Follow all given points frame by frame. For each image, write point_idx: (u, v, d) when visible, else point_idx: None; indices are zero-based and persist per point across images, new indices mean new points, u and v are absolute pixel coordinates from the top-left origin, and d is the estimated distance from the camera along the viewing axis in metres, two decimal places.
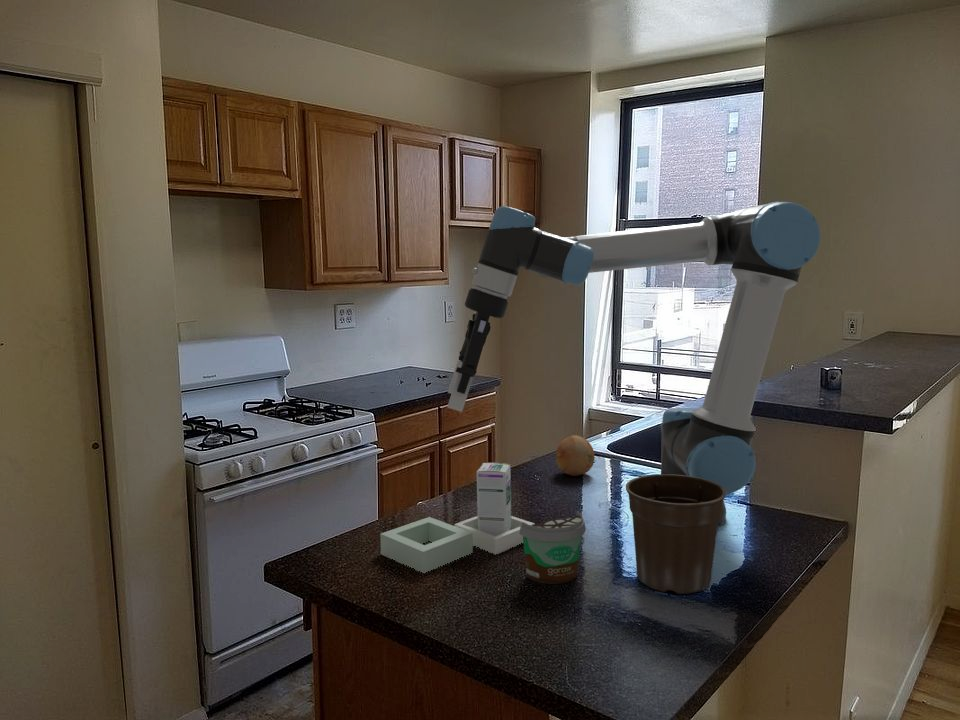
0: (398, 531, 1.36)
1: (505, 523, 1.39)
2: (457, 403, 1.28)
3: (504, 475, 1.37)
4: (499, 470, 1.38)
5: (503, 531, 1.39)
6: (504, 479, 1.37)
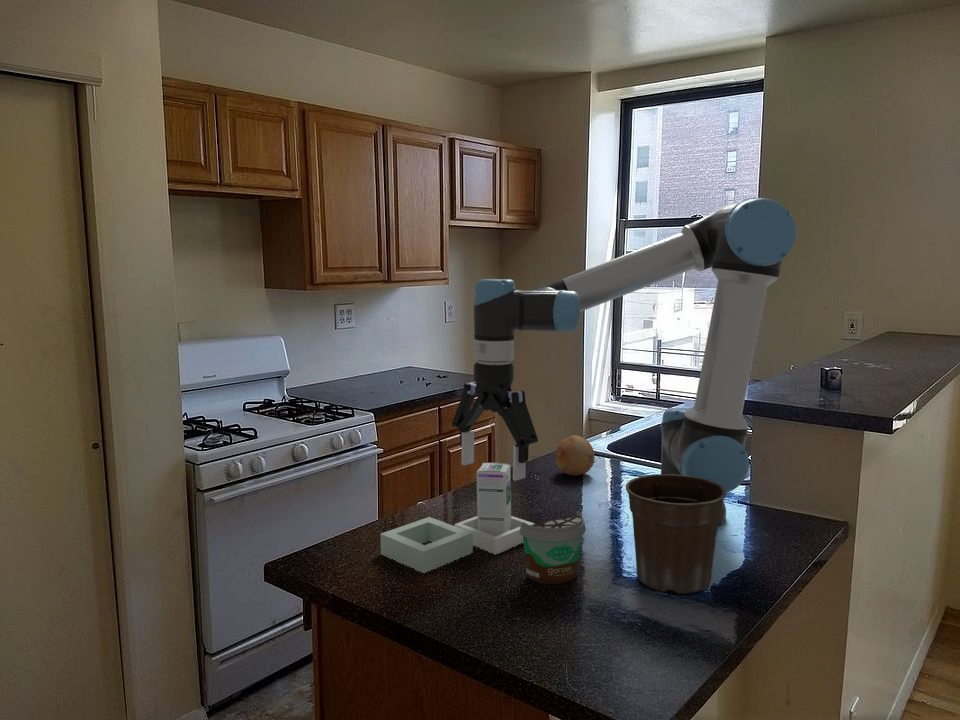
0: (398, 531, 1.36)
1: (505, 523, 1.39)
2: (521, 472, 1.35)
3: (504, 475, 1.37)
4: (498, 470, 1.38)
5: (503, 531, 1.39)
6: (504, 479, 1.37)
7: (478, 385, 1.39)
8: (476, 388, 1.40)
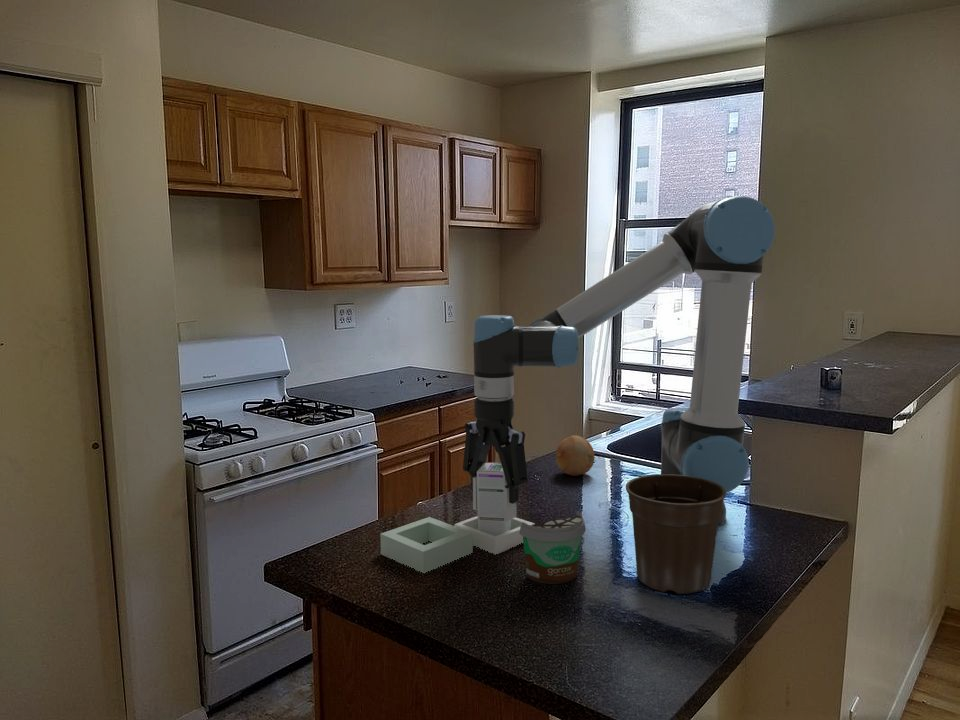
0: (398, 531, 1.36)
1: (505, 523, 1.39)
2: (512, 512, 1.38)
3: (504, 475, 1.37)
4: (499, 470, 1.38)
5: (503, 531, 1.39)
6: (504, 479, 1.37)
7: (478, 420, 1.41)
8: (476, 424, 1.41)
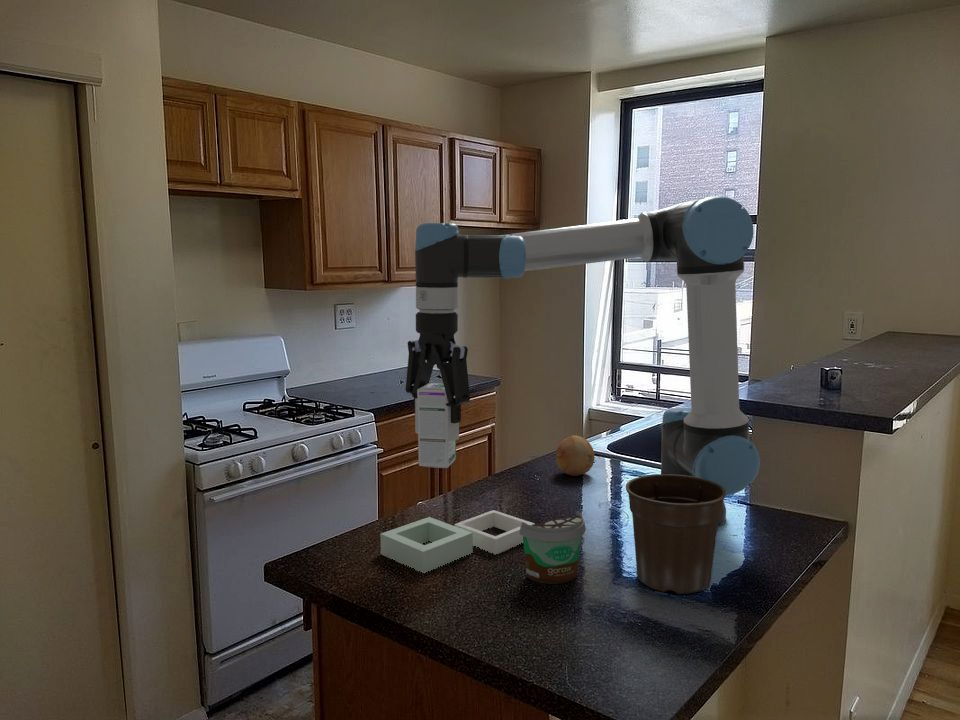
0: (398, 531, 1.36)
1: (447, 445, 1.31)
2: (454, 433, 1.30)
3: None
4: (440, 388, 1.30)
5: (444, 453, 1.31)
6: (446, 397, 1.29)
7: (420, 336, 1.33)
8: (419, 340, 1.33)
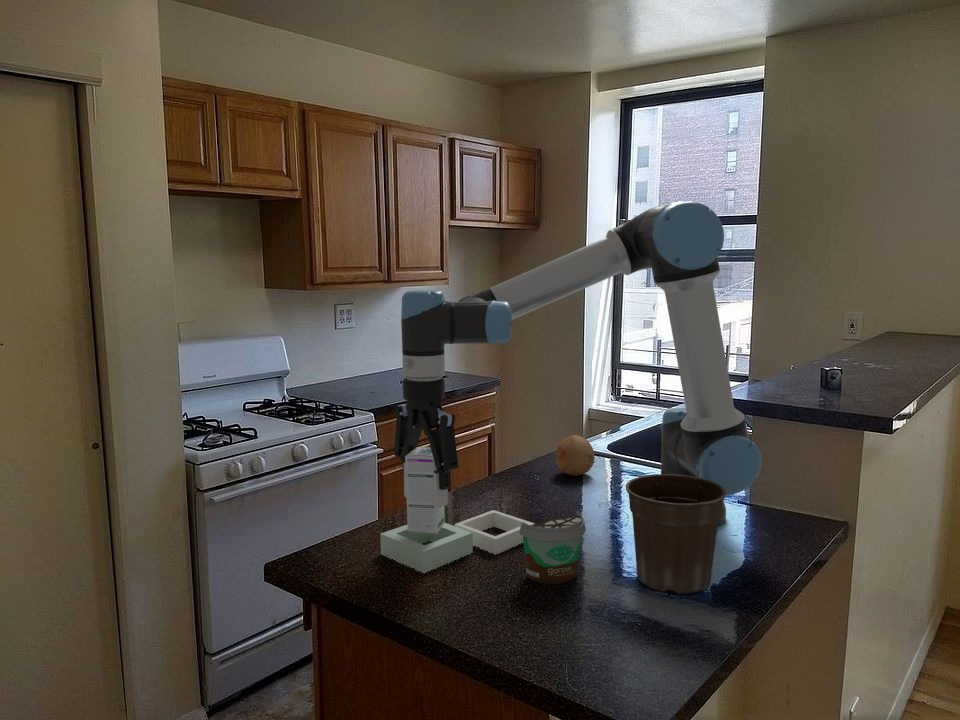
0: (398, 531, 1.36)
1: (435, 511, 1.31)
2: (442, 499, 1.31)
3: None
4: (428, 455, 1.30)
5: (433, 519, 1.31)
6: (434, 464, 1.30)
7: (407, 402, 1.33)
8: (406, 406, 1.33)
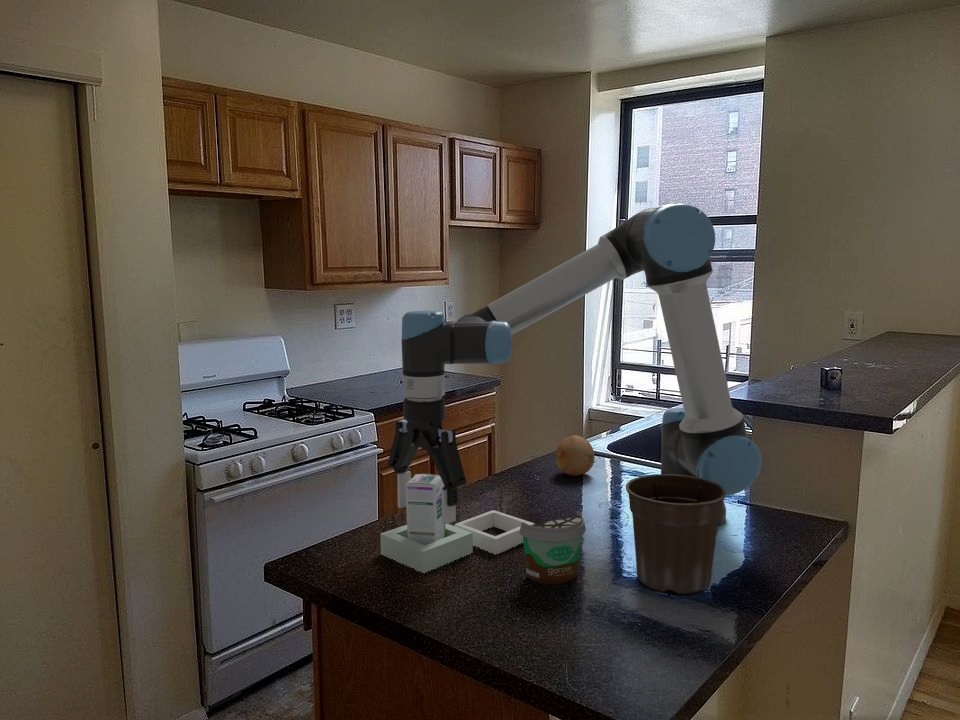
0: (398, 531, 1.36)
1: (436, 538, 1.32)
2: (450, 515, 1.30)
3: (434, 487, 1.30)
4: (428, 482, 1.31)
5: None
6: (434, 492, 1.30)
7: (409, 421, 1.33)
8: (407, 425, 1.34)
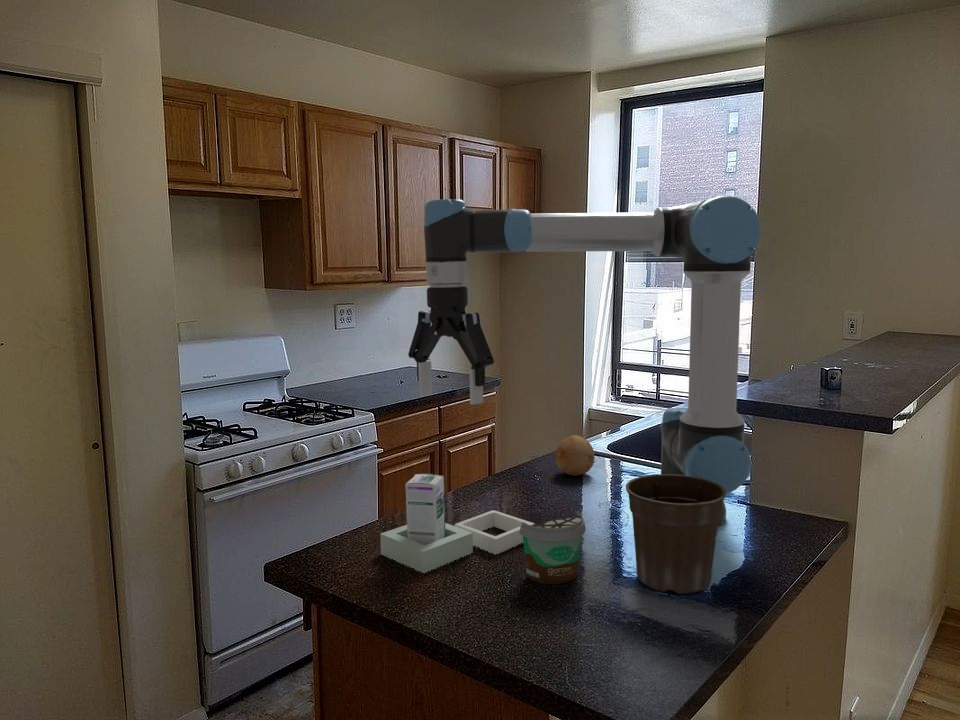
0: (398, 531, 1.36)
1: (436, 538, 1.32)
2: (478, 396, 1.32)
3: (434, 488, 1.30)
4: (428, 483, 1.31)
5: None
6: (434, 492, 1.30)
7: (432, 311, 1.36)
8: (430, 315, 1.37)
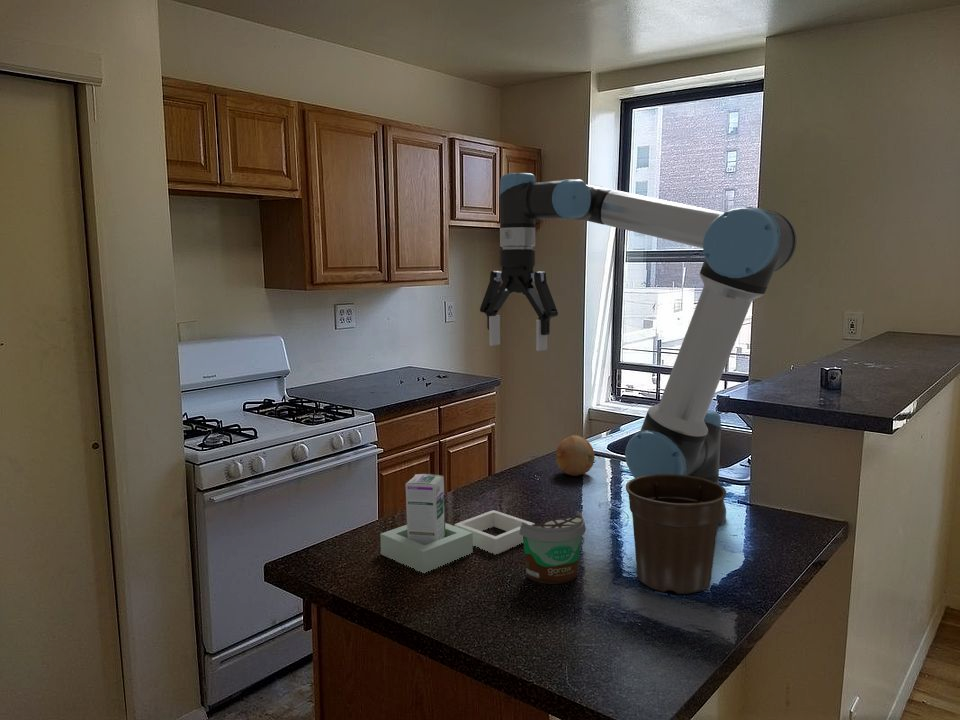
0: (398, 531, 1.36)
1: (436, 538, 1.32)
2: (543, 344, 1.53)
3: (434, 487, 1.30)
4: (428, 482, 1.31)
5: None
6: (434, 492, 1.30)
7: (503, 271, 1.57)
8: (502, 274, 1.58)
